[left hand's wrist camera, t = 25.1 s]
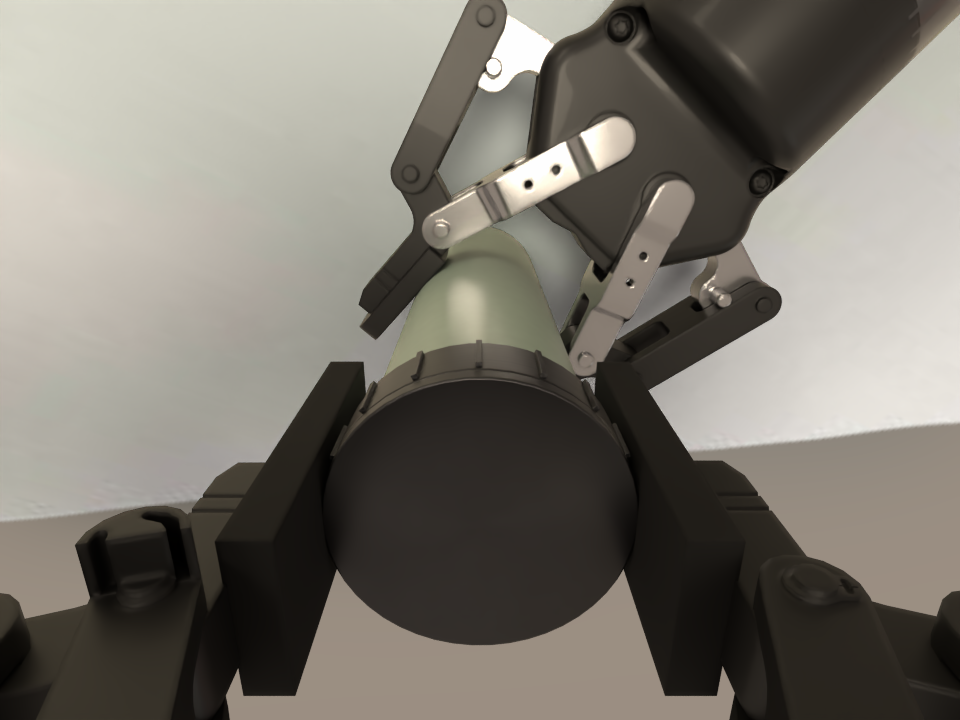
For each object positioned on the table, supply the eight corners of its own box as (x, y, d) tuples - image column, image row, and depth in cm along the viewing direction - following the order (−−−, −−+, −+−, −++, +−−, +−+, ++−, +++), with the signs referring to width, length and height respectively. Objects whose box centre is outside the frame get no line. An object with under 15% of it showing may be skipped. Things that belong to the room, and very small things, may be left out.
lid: (635, 561, 13) (657, 621, 11) (381, 603, 13) (368, 668, 11) (600, 312, 11) (621, 344, 9) (303, 371, 11) (274, 411, 10)
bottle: (508, 346, 28) (546, 626, 12) (410, 309, 28) (316, 552, 12) (551, 251, 27) (658, 428, 11) (449, 208, 26) (400, 331, 10)
